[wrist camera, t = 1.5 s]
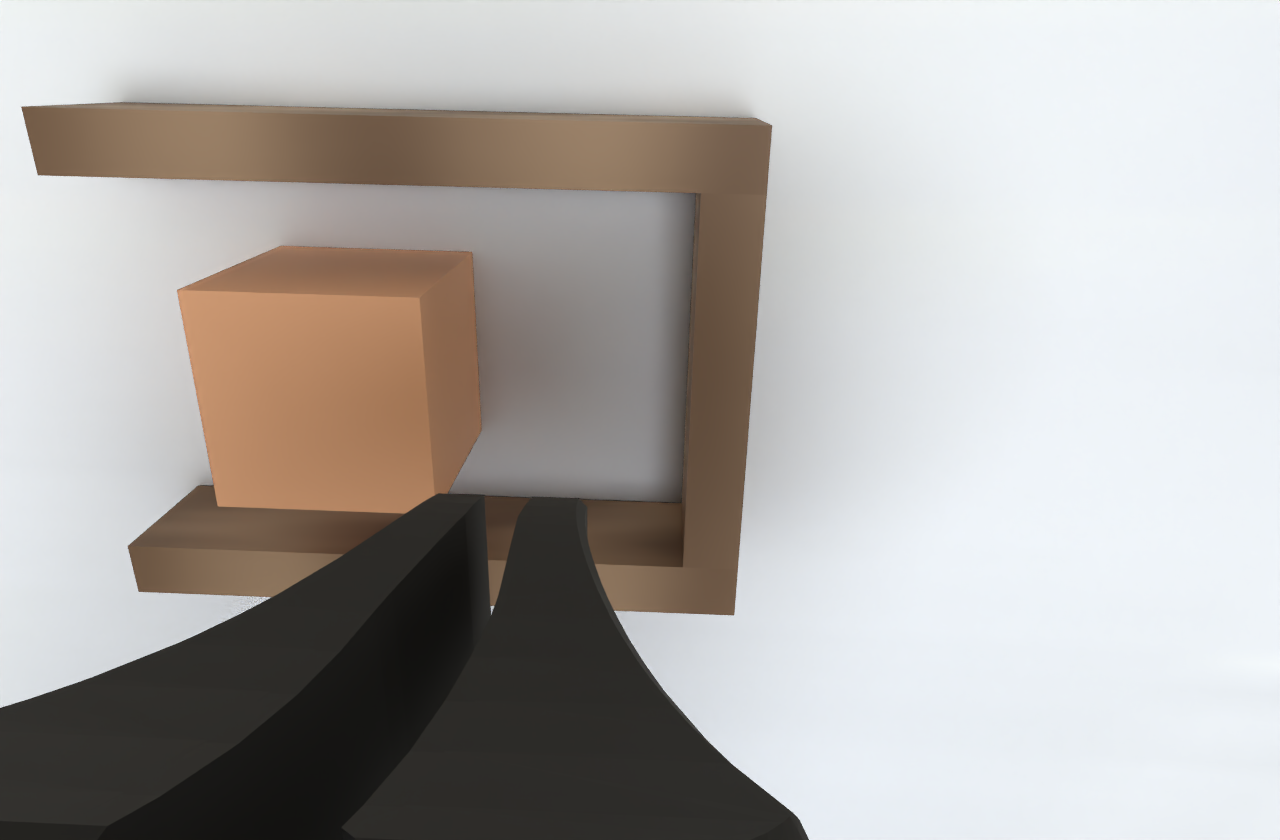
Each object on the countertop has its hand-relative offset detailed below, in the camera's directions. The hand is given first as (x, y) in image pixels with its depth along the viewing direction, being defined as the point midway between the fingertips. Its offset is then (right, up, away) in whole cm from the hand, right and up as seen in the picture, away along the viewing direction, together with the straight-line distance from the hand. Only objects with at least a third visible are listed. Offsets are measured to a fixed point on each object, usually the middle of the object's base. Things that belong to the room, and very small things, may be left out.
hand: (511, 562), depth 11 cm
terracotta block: (-4, +4, +9) cm, 11 cm away
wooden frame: (-3, +4, +9) cm, 10 cm away
